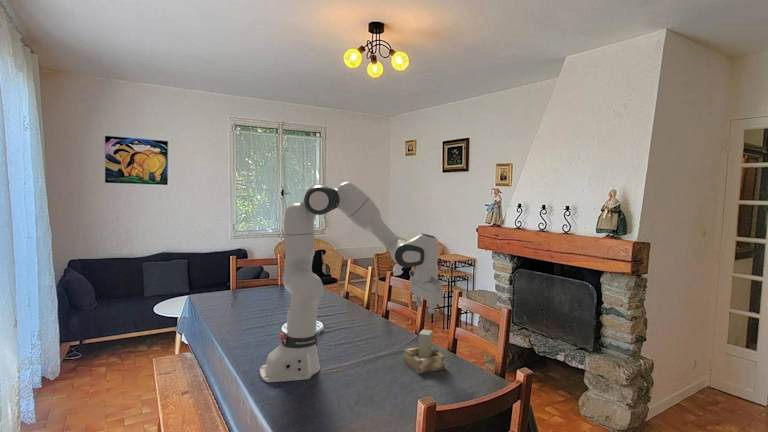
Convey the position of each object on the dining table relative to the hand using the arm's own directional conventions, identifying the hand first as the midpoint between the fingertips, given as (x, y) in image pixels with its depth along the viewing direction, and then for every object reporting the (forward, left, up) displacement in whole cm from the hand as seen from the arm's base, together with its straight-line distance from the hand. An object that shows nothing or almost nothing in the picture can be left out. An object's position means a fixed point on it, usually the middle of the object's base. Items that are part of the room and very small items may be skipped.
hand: (425, 309), depth 163 cm
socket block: (0, 0, -23) cm, 23 cm away
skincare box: (+1, +1, -22) cm, 22 cm away
